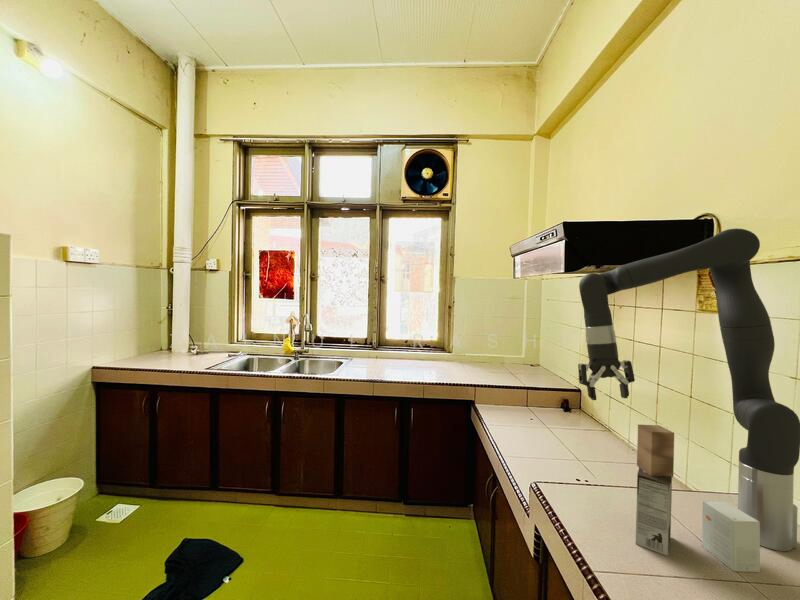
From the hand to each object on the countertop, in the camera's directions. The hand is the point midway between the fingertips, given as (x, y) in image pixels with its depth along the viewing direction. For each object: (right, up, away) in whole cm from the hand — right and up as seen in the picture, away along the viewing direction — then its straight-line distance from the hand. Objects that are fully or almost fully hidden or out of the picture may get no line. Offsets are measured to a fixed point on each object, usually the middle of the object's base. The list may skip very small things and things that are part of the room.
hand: (609, 398), depth 101 cm
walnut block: (0, -12, -18) cm, 22 cm away
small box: (+12, -29, -24) cm, 39 cm away
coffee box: (0, -28, -18) cm, 34 cm away
